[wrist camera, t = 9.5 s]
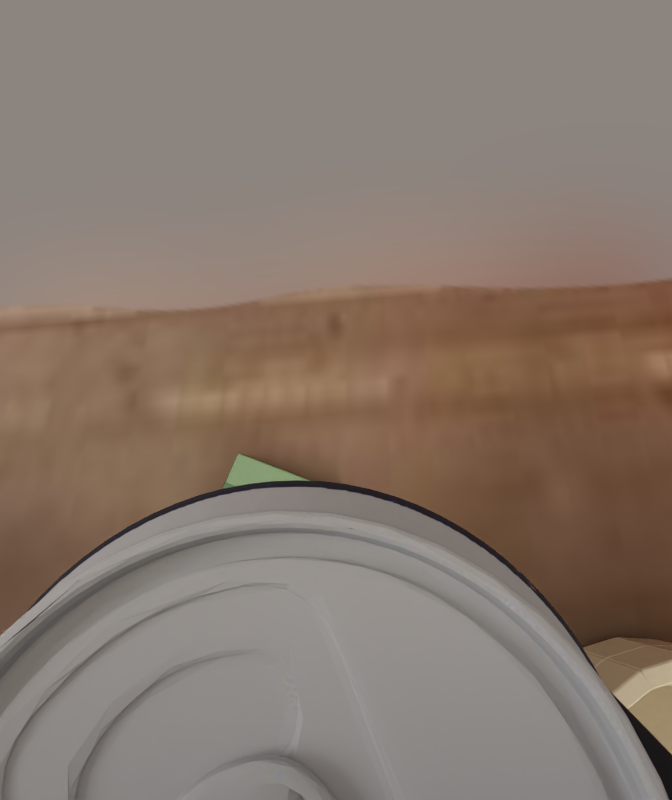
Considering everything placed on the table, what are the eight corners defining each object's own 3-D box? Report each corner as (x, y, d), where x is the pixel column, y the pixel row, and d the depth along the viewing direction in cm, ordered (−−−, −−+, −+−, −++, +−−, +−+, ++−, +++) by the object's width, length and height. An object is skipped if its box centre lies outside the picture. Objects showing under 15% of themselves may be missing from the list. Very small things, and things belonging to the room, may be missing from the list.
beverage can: (347, 501, 16) (419, 312, 4) (464, 694, 14) (1034, 1180, 3) (161, 615, 15) (-397, 769, 3) (269, 834, 13) (-33, 2386, 2)
